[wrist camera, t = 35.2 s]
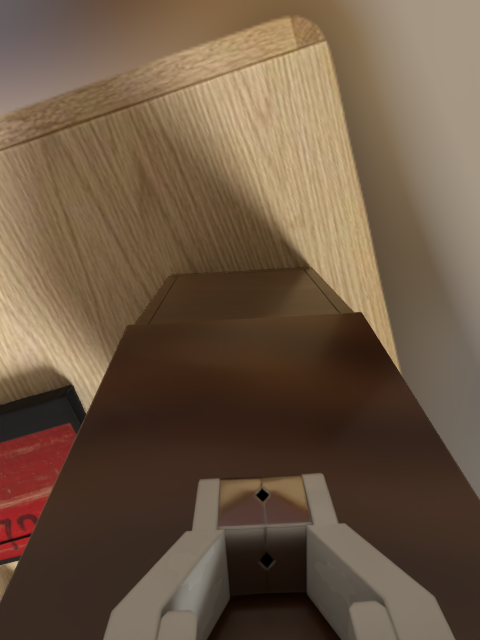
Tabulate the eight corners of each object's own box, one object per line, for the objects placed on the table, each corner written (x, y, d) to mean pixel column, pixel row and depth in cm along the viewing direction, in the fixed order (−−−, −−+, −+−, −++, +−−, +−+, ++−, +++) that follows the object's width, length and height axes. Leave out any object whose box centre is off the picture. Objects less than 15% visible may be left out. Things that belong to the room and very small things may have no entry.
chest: (312, 423, 38) (350, 541, 26) (186, 430, 38) (162, 551, 26) (311, 266, 34) (358, 316, 21) (169, 274, 34) (130, 328, 21)
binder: (-161, 460, 36) (63, 394, 34) (-139, 443, 38) (73, 381, 37) (-62, 585, 41) (136, 533, 40) (-47, 564, 44) (141, 514, 42)
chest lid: (619, 766, 7) (638, 747, 7) (-67, 801, 7) (-87, 785, 7) (360, 325, 21) (361, 311, 20) (129, 338, 21) (126, 324, 20)
